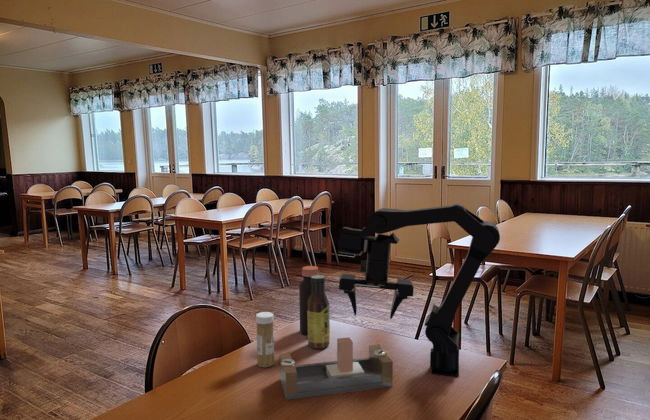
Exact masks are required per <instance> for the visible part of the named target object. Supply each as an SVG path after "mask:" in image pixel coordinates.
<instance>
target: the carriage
mask: <svg viewBox="0 0 650 420" xmlns="http://www.w3.org/2000/svg"><path fill="white" fill-rule="evenodd" d="M336 342H337V343H336V351H337V352H336V355H337V357H336V358H337V359H336V361H337V364H333V365H326V373H327V375H328V377H329V378H337V377H345V376H354V375H362V374H365V372H364V370H363V369H362V367H361V366H360V364H359V363H358V362H353V359H354V357H353V356H354V354H353V353H354V349H353V348H354V347H353V345H354V344H353V343H354V342H353V341H352V339H351V337H340V338H338V337H337V339H336Z"/></svg>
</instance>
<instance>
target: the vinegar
mask: <svg viewBox="0 0 650 420" xmlns="http://www.w3.org/2000/svg"><path fill="white" fill-rule="evenodd" d="M301 274H302V276H301V277H302V278H303V279H302V280H301V281H300V283H299V285H298V291H299V292H298V293H299V296H298V297H299V298H298V299H299V300H298V301H299V332H300V334H301V335H303V336H306V337H308V320H307V310H308V304H307V303H308V298H309V296H310V295H311V293H312V292H311V276H315V275H319V266H314V265H306V266H302V268H301Z"/></svg>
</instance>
